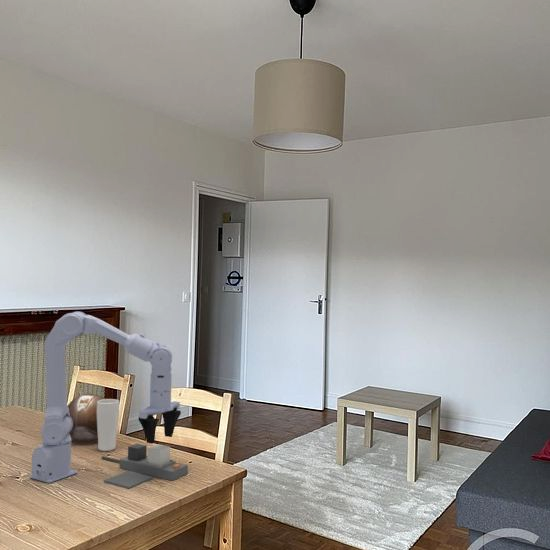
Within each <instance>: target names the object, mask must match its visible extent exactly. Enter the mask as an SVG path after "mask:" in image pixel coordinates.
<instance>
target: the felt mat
mask: <svg viewBox="0 0 550 550" xmlns="http://www.w3.org/2000/svg"><path fill="white" fill-rule="evenodd" d="M153 479H154V476H150V475H146V474H142V473H138V472H134V471H130V470H126V471H124V472H121V473H119V474H116V475H114V476H111V477H108V478H105V479H103V483H106V484H110V485H114V486H118V487H121V488H125V489H129V490H130V489H132V488H134V487H136V486H139V485H141V484H143V483H145V482H148V481H150V480H153Z"/></svg>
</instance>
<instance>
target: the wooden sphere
mask: <svg viewBox="0 0 550 550" xmlns="http://www.w3.org/2000/svg"><path fill="white" fill-rule="evenodd" d="M103 399H105V398H103V397H102V396H101V395H98V394H95V393H85V394H80V395H78V396H76V397H75V398H74V399H72V400H71V401H70V402H69V403H68V404H67V405H68V408H69V414H70V417H71V418H72V420H73V427H72V430H71V431H70V432H69V435H70V437H71V436H72V438H74V439H76V440H79V441H85V442H87V441H93V440H96V439H98V432H97V401H99V400H103Z"/></svg>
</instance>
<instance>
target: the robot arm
mask: <svg viewBox="0 0 550 550" xmlns="http://www.w3.org/2000/svg"><path fill="white" fill-rule="evenodd" d="M81 334H84V335H93V334H94V335H95V334H97V335H99V336H101V337H104V338H106V339H107V340H111V341H113V342H115V343H117V344H119V345H121V346H123V347H124V350H125V352H126V353H127V354H129V355H132V356H133V357H136V358H138V359H140V360H142V361H143V362H146V363H148V362H149V363H150V365H151V373H150V387H149V388H150V389H149V406H147V407H145V408H144V409H141V410H139V416H138V422H139V423H140V425H141V427H142V430H143V432H144V436H145V440H146V443H147V444H155V440H156V439H155V438H156V431H157V430H156V429H157V426H158V423H159V421H160V419H159V418H155V417H154V416H156V415H159V414H161V415H162V419H163V426H164V427H163V428H164V430H163V431H164V432H163V433H164V437H168V438H172V437H173V435H174V431H175V427H176V424H177V422H178V421H179V420H178V419H179V418H180V416H181V413H182V411H181V410H179V409H180V404H181V403H180V402H179V401H172V362H173V352H172V350H171V349H170V348H168V347H167V346H166V345H164V344H162V345H161V343H160V342H158V341H156V342H154V341H153V340H150V339H148V338H146V337H145V336H146V335H145V334H143V333H139V334H138V333H132V334H129V333H127V332H124V331H123V330H121V329H119V328H117V327H115V326H113V325H112V324H109V323H107V322H106V321H104V320H102V319H101V318H98V317H95V316H93V315H90V314H86V313H84V312H83V311H73V312H69V313H66V314H64V315H62V317H60V318H59V319H57V320H56V321H55V323H54V326H53V327H52V329H51V330H50V332H49V333H48V335H47V336H46V338H45V341H44V354H45V355H44V358H45V362H44V363H45V387H46V411H45V414H44V423H43V426H42V428H41V431H40V436H41V439H42V443H41V444H40V446H39V445H38V446H37V447H36V448H34V449H33V452H32V455H31V474H30V475H29V478H30V479H32V480H33V479H34V480H37V481H41V482H45V483H48V484H50V483H54V482H56V481H58V480H63V479H65V478H68V477H70V476H72V475H75V474H78V470H75V469H71V465H72V464H71V463H72V462H71V461H72V437H71V435H70V434H69V432H70V431H71V430H72V427H73V420H72V418H71V417H70V414H69V408H68V405H69V404H67V403H68V402H67V401H68V400H67V397H68V396H67V373H66V371H67V370H66V367H67V366H66V346H67V345H68V344H69V343H70V342H71V341H73V340H74V338H76V337H78V336H80V335H81Z"/></svg>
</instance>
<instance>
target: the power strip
mask: <svg viewBox="0 0 550 550" xmlns="http://www.w3.org/2000/svg"><path fill="white" fill-rule="evenodd" d="M147 451H148V447H147V445H145V444H141V443H135V444H131V445H130V446H128V447H127V456H125V457H122V458H120V459H118V458H114V457H109V456H104V455H102V456H101V459H102V460H105V461H108V462H113V463H116V464H118V465H119V466H118V467H119V469H122V470H126V471H132V472H136V473H140V474H144V475H148V476H152V477H153V478H154V477H155V478H158V479H163V480H168V481H172V482H173V481H175V480H177V479H180V478H182V477H184V476H185V475H188V471H189V468H188V467H189V466H188V464H184V463H181V462H176V460H175V459H174V460H173V459H170V463H167V464H165V465H162V466H157V465H153V464H149V463H148V455H147Z"/></svg>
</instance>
